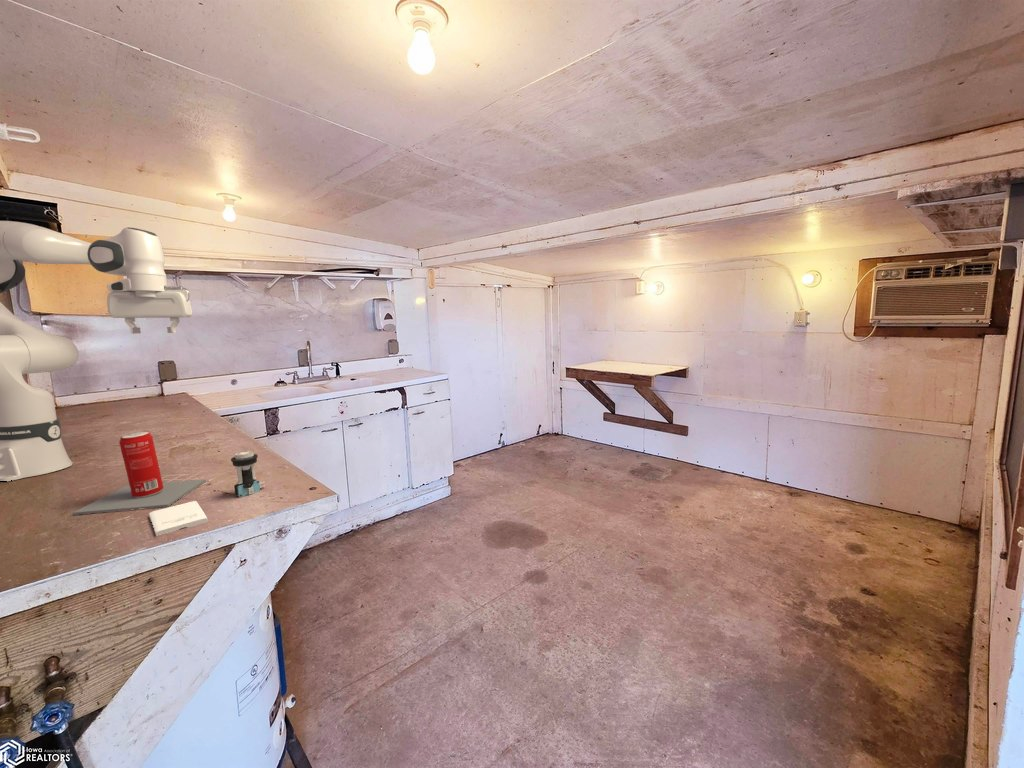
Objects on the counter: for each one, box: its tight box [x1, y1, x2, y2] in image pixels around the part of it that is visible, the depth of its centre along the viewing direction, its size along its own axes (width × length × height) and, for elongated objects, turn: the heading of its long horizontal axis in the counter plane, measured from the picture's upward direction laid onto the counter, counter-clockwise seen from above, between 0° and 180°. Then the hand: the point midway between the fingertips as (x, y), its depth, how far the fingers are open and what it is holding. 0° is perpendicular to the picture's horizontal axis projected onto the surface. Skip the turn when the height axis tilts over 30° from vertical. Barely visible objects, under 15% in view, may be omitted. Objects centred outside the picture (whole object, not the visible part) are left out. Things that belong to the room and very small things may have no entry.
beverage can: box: [119, 430, 164, 498], centre depth 97 cm, size 6×6×15 cm
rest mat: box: [72, 479, 207, 516], centre depth 98 cm, size 18×16×1 cm
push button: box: [230, 450, 266, 498], centre depth 99 cm, size 7×5×10 cm
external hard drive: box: [148, 500, 209, 537], centre depth 86 cm, size 2×8×12 cm
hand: (154, 333), depth 123 cm, fingers open, 8 cm apart
